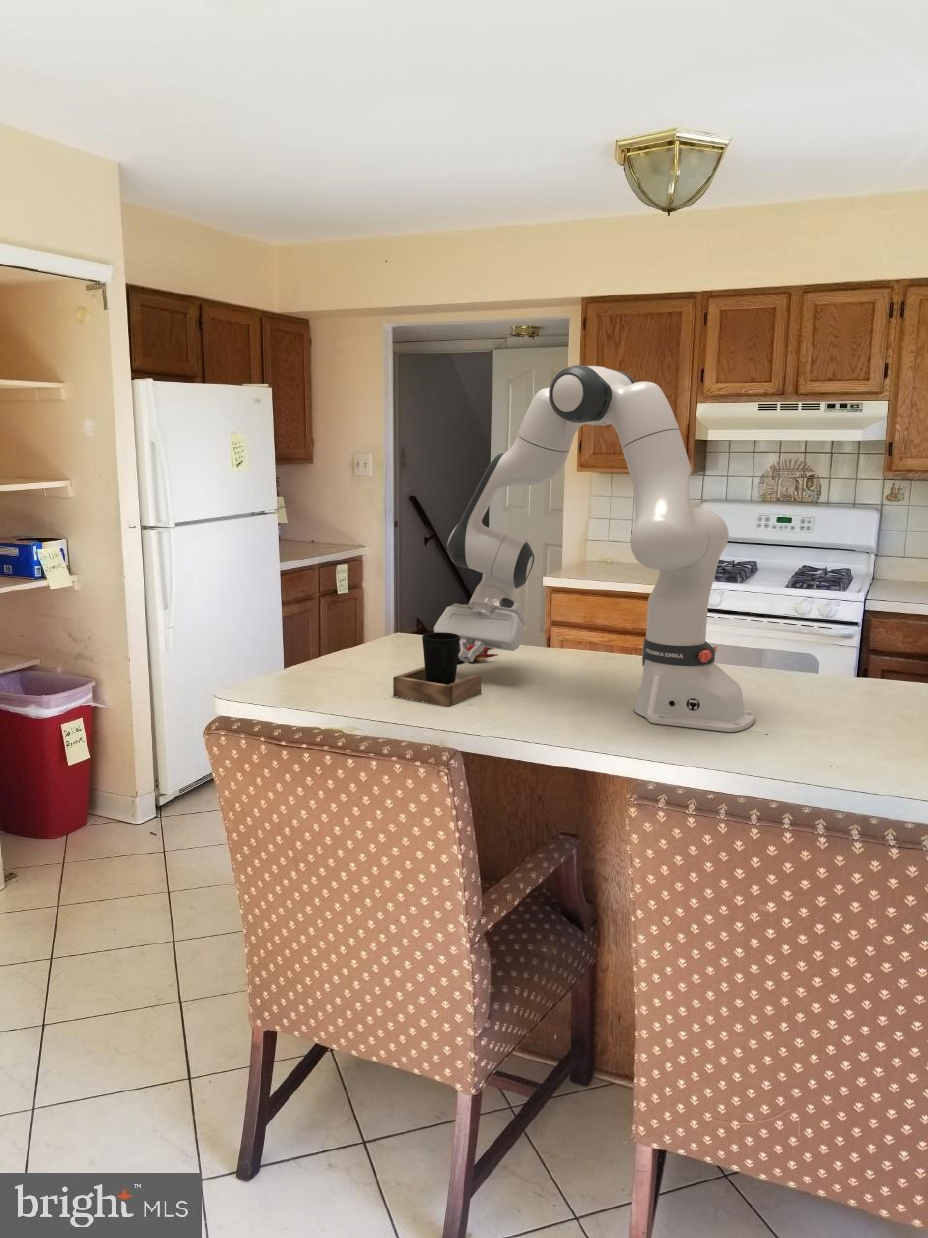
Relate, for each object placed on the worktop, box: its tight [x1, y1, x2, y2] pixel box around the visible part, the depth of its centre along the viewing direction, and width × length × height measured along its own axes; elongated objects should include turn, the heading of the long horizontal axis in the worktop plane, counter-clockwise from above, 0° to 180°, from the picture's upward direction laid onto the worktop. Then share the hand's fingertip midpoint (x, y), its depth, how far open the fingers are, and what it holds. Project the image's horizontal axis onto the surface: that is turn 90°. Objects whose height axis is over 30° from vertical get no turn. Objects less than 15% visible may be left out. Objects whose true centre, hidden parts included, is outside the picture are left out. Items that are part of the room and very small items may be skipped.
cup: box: [421, 632, 460, 685], centre depth 191 cm, size 8×8×12 cm
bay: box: [392, 666, 483, 708], centre depth 191 cm, size 13×12×4 cm
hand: (465, 659), depth 198 cm, fingers closed
